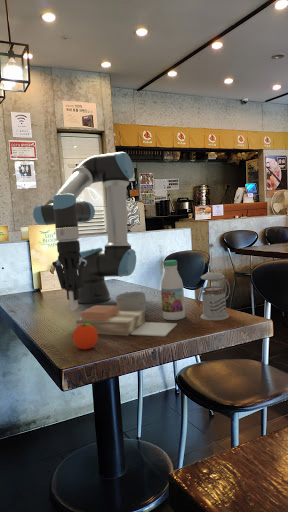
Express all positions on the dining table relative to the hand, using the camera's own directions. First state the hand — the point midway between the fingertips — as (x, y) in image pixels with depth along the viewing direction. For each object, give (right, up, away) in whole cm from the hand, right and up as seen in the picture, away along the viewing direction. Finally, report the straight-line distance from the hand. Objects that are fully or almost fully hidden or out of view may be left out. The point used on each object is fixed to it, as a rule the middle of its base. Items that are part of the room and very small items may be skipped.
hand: (74, 309), depth 127 cm
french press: (+49, -2, 0) cm, 49 cm away
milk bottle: (+34, -3, +2) cm, 35 cm away
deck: (+13, -5, -5) cm, 15 cm away
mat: (+27, -5, -10) cm, 30 cm away
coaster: (+9, -2, -3) cm, 10 cm away
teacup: (+19, -4, +10) cm, 22 cm away
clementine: (+8, -8, -23) cm, 25 cm away
